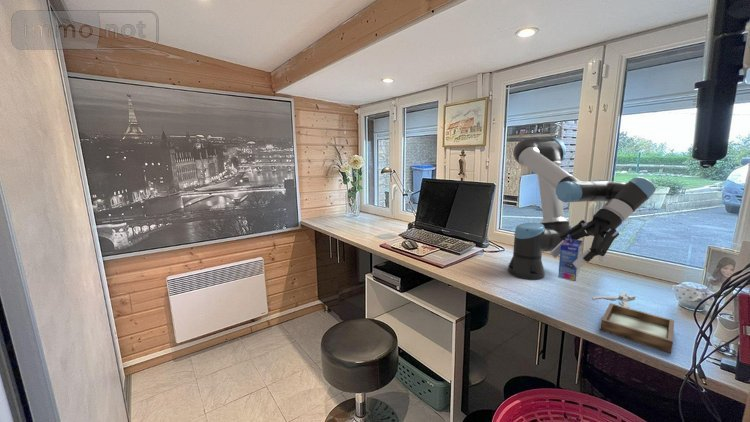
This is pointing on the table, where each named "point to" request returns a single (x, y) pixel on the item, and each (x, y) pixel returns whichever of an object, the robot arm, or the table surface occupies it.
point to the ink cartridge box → (569, 258)
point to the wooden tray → (639, 327)
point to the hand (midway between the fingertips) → (563, 260)
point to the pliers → (621, 296)
